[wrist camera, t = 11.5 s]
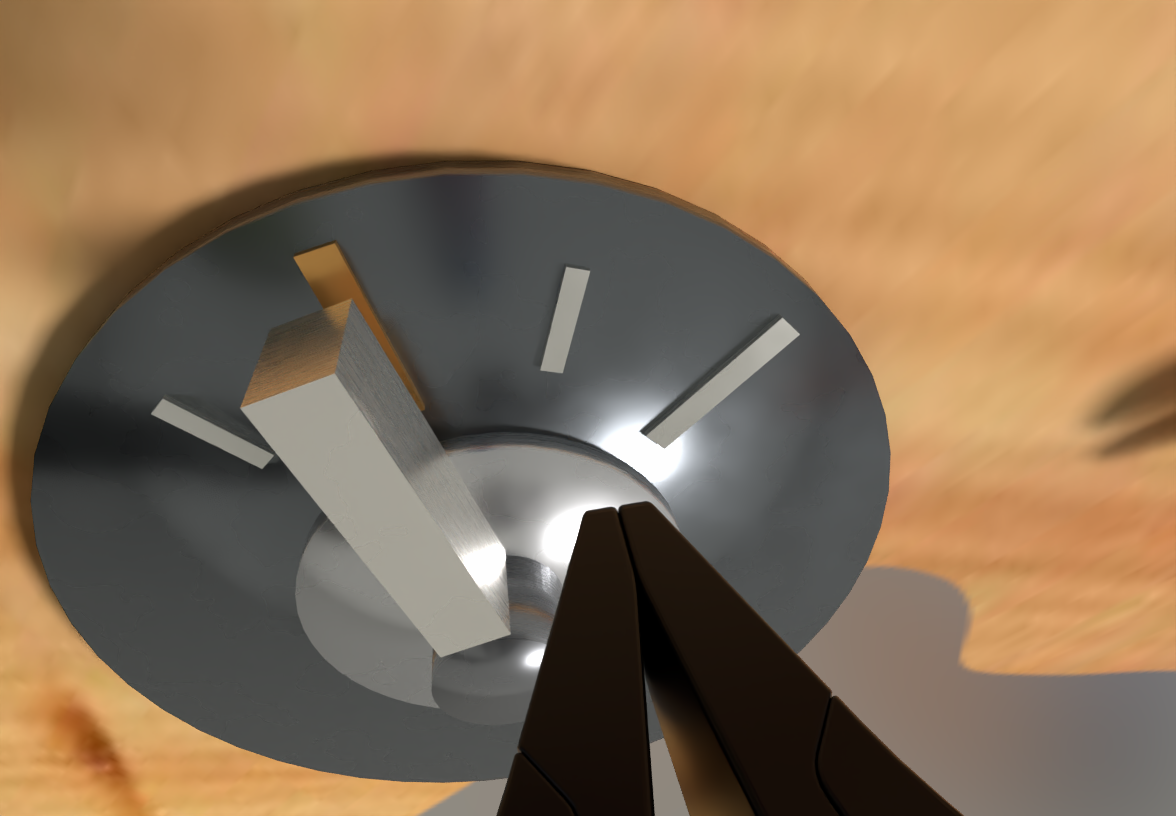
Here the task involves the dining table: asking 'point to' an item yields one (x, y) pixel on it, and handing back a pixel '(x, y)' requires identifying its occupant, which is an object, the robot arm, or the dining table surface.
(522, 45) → the dining table surface
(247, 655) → the dial plate
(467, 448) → the dial
